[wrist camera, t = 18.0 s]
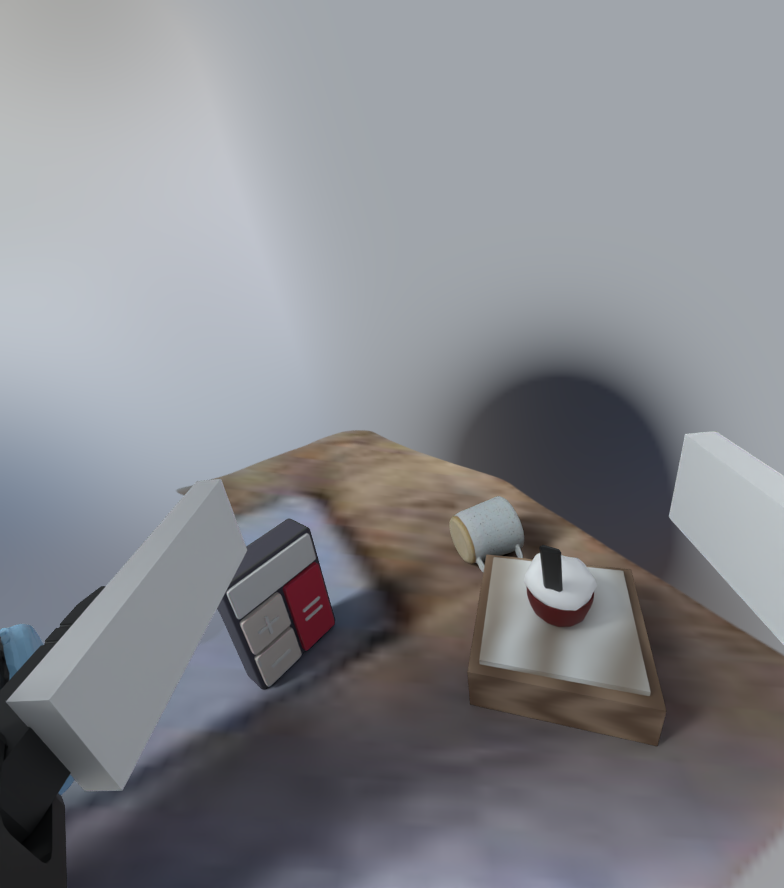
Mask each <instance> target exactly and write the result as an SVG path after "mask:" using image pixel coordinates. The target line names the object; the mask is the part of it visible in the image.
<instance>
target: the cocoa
mask: <svg viewBox="0 0 784 888" xmlns="http://www.w3.org/2000/svg"><path fill="white" fill-rule="evenodd" d="M539 549H540V553H539V554H537V555H536V556H535V557H534V559H533V560H532V562H531V565H530V567H529V569H528V570H527V572H526V574H525V577H524V583H525V585H526V586H527V596H528V600H529V602H530V605H531V607H532V608H533V610H534V612H535V614H536V615H537V616H539V617H540V618H541V619H543V620H544V621H545V622H547V623H548V624H551V625H554V626H557V627H571V626H573V625H575V624H578V623H580V622H582V621H583V620H584V618H585V616H586V615H587V613H588V611H589V610H590V608H591V606H592V604H593V600H594V590H595V589H596V587H597V584H596V581H595V579H594V577H593V576H592V574H591V573H590V571H589V570H588V568H587V567H586V565H585V564H584V563H583V562H582V561H581V560H579V559H578V558H572V557H566V556H563V555H561V552H560V550H559V549H556V548H552V547H549V546H545V545H542V546H540V547H539Z"/></svg>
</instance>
